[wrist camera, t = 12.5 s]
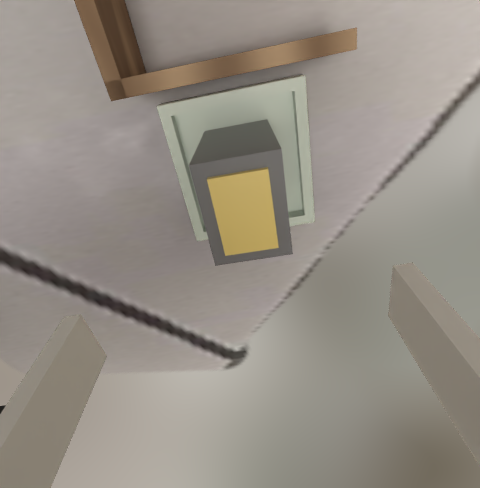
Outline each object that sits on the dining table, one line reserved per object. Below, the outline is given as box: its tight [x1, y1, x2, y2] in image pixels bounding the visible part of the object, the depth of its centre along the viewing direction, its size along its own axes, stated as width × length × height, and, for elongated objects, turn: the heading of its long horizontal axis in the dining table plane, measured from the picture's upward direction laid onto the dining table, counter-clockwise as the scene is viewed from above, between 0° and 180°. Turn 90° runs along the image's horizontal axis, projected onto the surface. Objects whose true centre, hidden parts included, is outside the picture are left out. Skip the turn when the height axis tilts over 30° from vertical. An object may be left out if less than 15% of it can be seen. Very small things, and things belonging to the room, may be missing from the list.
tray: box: [157, 75, 315, 241], centre depth 31 cm, size 13×14×2 cm
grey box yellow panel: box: [189, 119, 293, 266], centre depth 26 cm, size 6×8×11 cm
